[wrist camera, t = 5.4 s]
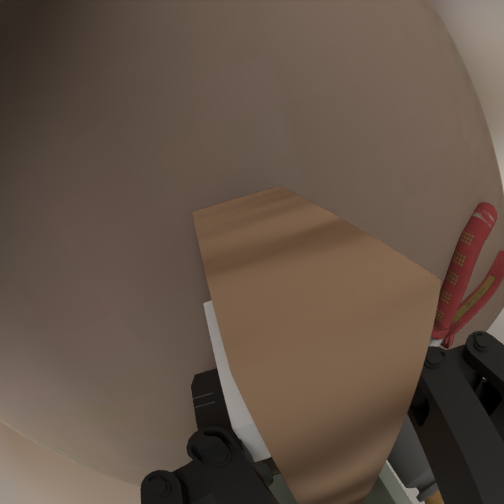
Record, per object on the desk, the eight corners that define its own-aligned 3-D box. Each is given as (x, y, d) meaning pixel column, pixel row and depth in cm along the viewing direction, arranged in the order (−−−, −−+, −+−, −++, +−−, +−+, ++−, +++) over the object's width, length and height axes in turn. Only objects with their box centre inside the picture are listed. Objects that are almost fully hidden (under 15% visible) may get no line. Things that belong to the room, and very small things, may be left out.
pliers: (345, 377, 23) (359, 397, 20) (476, 193, 19) (498, 201, 17) (398, 391, 27) (410, 405, 25) (499, 253, 24) (514, 262, 21)
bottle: (360, 430, 28) (416, 519, 15) (366, 407, 26) (435, 509, 12) (398, 410, 29) (458, 489, 16) (408, 384, 27) (480, 473, 13)
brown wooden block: (191, 211, 12) (231, 372, 4) (280, 185, 12) (441, 280, 4) (278, 446, 21) (312, 527, 13) (319, 431, 22) (360, 507, 14)
